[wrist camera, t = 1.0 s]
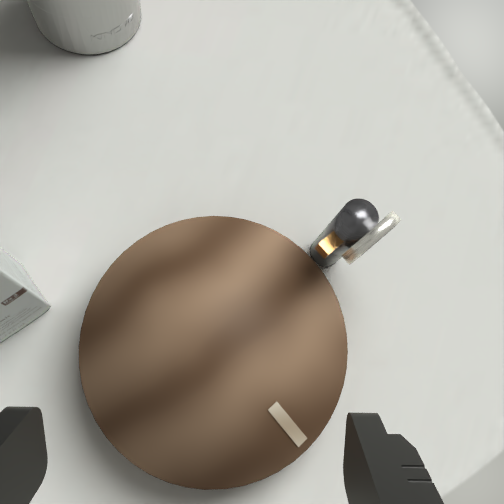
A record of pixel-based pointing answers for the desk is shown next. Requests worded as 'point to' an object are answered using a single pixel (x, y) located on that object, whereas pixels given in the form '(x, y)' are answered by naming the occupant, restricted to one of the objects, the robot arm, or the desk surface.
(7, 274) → the skincare box
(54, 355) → the desk surface
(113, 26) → the robot arm
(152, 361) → the turntable
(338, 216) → the post with glass disc
